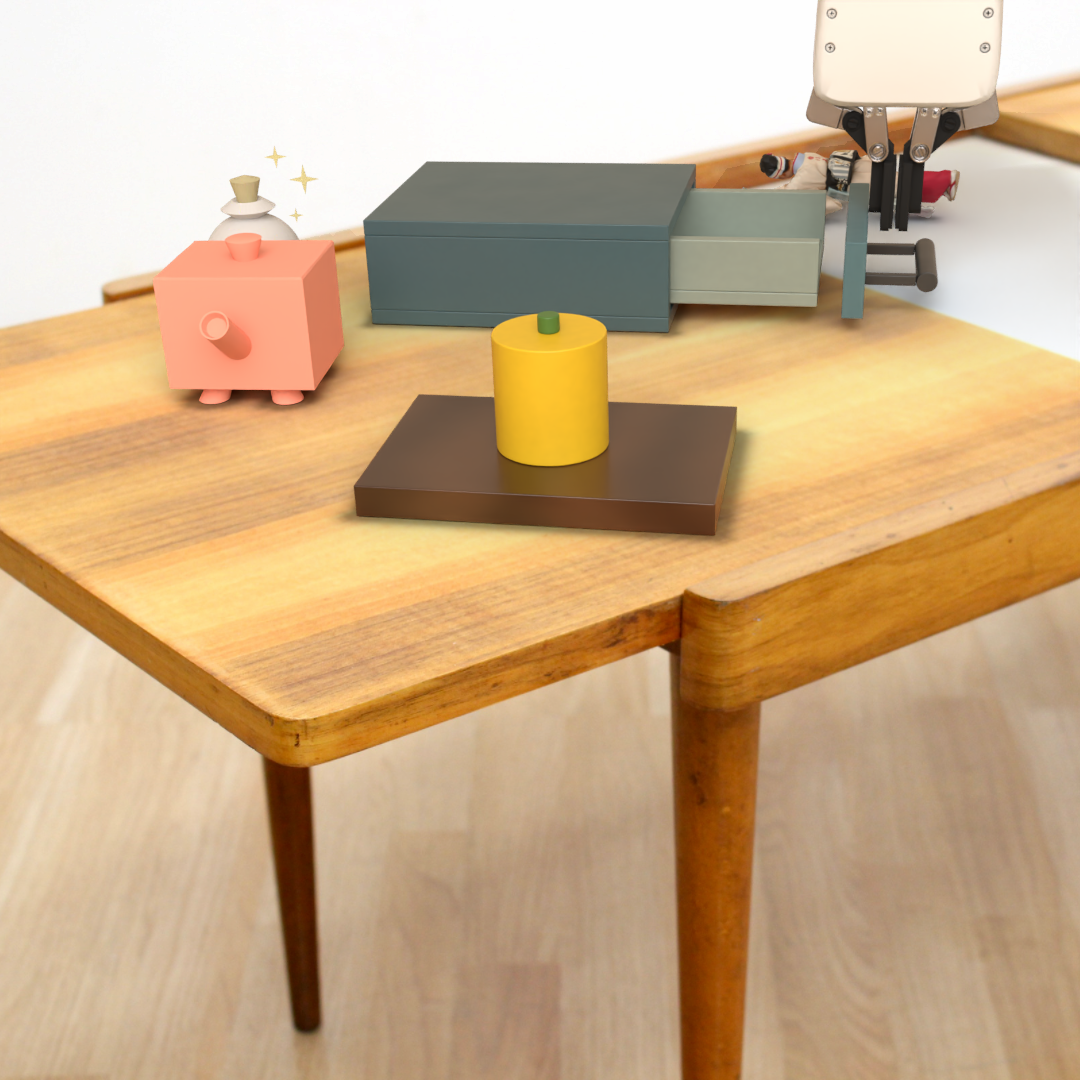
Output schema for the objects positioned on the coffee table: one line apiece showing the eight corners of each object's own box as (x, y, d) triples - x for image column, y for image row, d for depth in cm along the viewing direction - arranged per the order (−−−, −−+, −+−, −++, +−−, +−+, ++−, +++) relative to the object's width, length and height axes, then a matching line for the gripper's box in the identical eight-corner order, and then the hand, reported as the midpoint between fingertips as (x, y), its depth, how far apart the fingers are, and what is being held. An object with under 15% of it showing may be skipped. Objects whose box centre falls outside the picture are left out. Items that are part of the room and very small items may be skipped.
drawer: (931, 253, 98) (937, 183, 96) (937, 321, 86) (944, 244, 84) (607, 246, 102) (606, 179, 100) (572, 311, 90) (570, 237, 88)
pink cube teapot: (151, 431, 79) (125, 274, 75) (222, 349, 90) (203, 208, 86) (300, 433, 78) (282, 274, 74) (354, 350, 89) (340, 207, 85)
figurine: (942, 205, 114) (738, 180, 115) (964, 150, 106) (745, 124, 107) (933, 280, 112) (727, 255, 114) (955, 231, 105) (733, 204, 106)
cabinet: (695, 259, 102) (696, 163, 99) (668, 332, 89) (668, 225, 86) (433, 254, 105) (426, 161, 102) (372, 324, 93) (362, 220, 90)
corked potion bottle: (222, 295, 99) (201, 136, 94) (338, 292, 98) (323, 133, 94) (201, 326, 93) (177, 160, 89) (324, 323, 93) (306, 156, 88)
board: (736, 434, 76) (737, 406, 75) (714, 536, 66) (715, 504, 66) (420, 421, 79) (418, 393, 78) (356, 516, 69) (353, 485, 69)
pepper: (617, 424, 74) (614, 297, 71) (599, 469, 69) (596, 335, 66) (510, 420, 75) (503, 294, 72) (485, 464, 70) (477, 331, 67)
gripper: (1057, -121, 85) (1021, 210, 93) (780, -116, 87) (769, 205, 96) (1070, -109, 78) (1030, 246, 86) (771, -104, 81) (760, 240, 89)
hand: (893, 224), depth 91 cm, fingers closed
